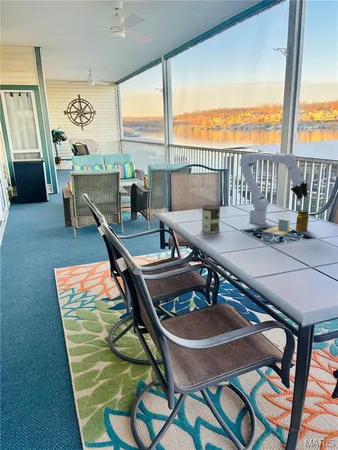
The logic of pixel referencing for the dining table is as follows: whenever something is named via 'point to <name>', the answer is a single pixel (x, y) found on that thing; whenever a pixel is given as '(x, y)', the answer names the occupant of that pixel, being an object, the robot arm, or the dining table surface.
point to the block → (283, 224)
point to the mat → (277, 230)
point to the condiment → (302, 221)
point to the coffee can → (210, 218)
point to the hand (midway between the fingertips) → (303, 197)
